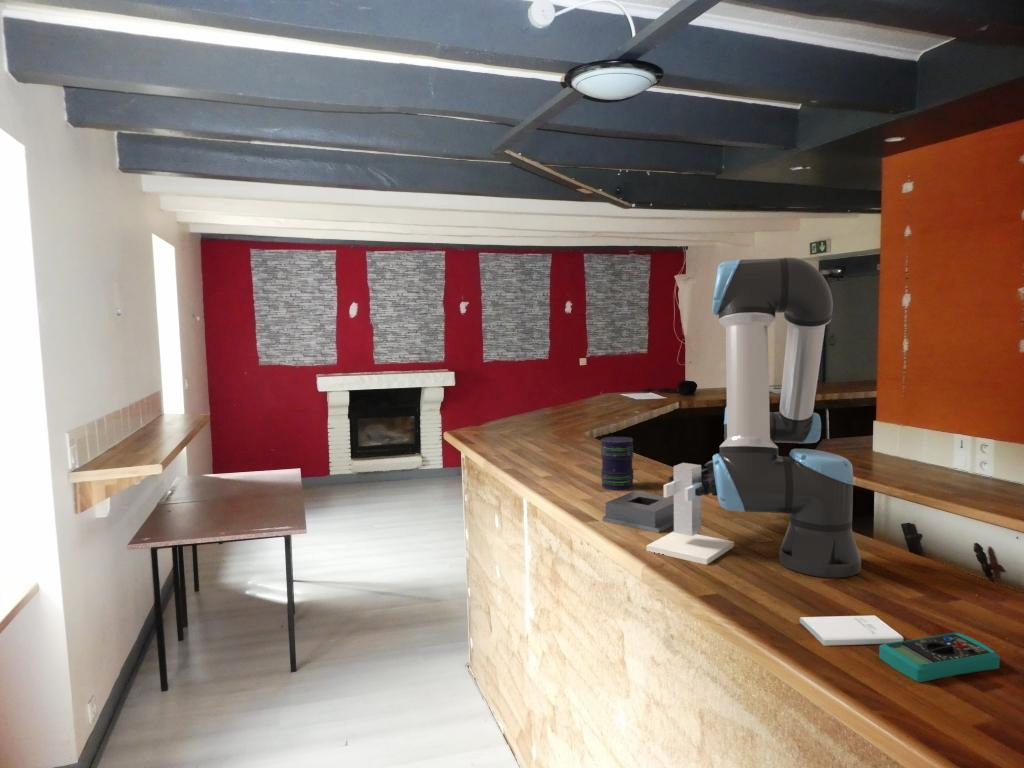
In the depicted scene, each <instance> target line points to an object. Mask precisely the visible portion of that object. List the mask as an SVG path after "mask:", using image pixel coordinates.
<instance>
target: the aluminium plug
mask: <svg viewBox="0 0 1024 768" xmlns="http://www.w3.org/2000/svg"><path fill="white" fill-rule="evenodd" d="M701 469H702V465H701V464H696V463H695V464H694V463H688V462H681V463H679V464H676V465H673V475H674V495H673V498H674V525H673V531H674V532H675V533H679V534H684V535H689V536H693V535H695V534H699V533H701V532H702V496H699V497H697V498H694V499H692V500H690V501H685V488H687V487H690V486H692V485H694V484H697V483H701Z"/></svg>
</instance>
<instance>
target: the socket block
mask: <svg viewBox="0 0 1024 768" xmlns="http://www.w3.org/2000/svg"><path fill="white" fill-rule="evenodd" d="M601 520H602V522H606V523H610V524H613V525H614V524H615V525H618V526H624V527H629V528H634V529H638V530H644V531H648V532H654V533H657V534H659V533H661V532H663V531H665V530H667V529H669V528H671V527H674V497H671V496H670V497H667V498H665V497H664V495H658V494H651V493H645V492H639V491H631V492H629V493H626V494H624V495H621V496H618V497H616V498H613V499H610V500H608V501H606V502H605V515H604V516H602V519H601Z"/></svg>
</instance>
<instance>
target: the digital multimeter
mask: <svg viewBox="0 0 1024 768" xmlns="http://www.w3.org/2000/svg"><path fill="white" fill-rule="evenodd" d="M878 651H879V653H878V655H879V659H880V660H881V661H883V662H885V663H886V664H887V665H888V666H890V667H891V668H893V669H894V670H896V671H898V672H900V673H901V674H902V675H905V676H906V677H908V678H910V679H912V680H914V681H915V682H917V683H923V682H924V683H925V682H928V681H929V682H930V681H933V680H937V679H938V680H939V679H942V678H948V677H953V676H958V675H965V674H971V673H977V672H983V671H991V670H999V669H1000V659H1001V658H1000V657H1001V656H1000V655H999V654H998V653H996V651H994V650H993V649H992V648H990V647H988V646H987V645H985V644H983V643H981V642H980V641H979V640H976V639H974V638H972V637H970V636H967V635H965V634H962V633H959V632H951V633H945V634H939V635H934V636H933V635H932V636H927V637H923V638H915V639H908V640H903V641H900V642H892V643H885V644H879V649H878Z"/></svg>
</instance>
